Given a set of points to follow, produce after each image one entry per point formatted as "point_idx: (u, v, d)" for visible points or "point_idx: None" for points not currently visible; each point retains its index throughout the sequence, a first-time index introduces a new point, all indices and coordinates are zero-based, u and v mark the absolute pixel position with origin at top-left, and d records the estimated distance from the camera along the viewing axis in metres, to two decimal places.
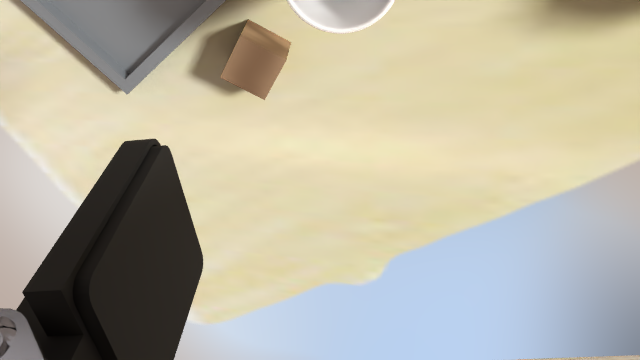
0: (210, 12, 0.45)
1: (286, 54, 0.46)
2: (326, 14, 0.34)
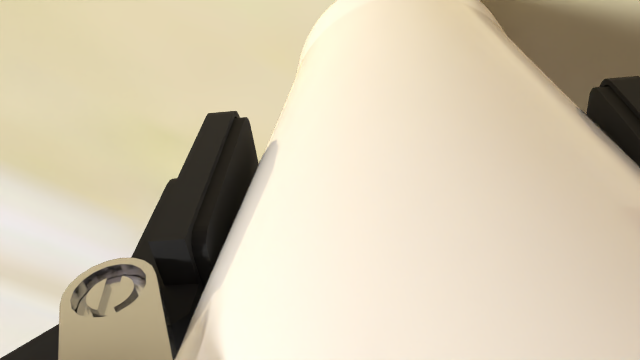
0: None
1: None
2: None
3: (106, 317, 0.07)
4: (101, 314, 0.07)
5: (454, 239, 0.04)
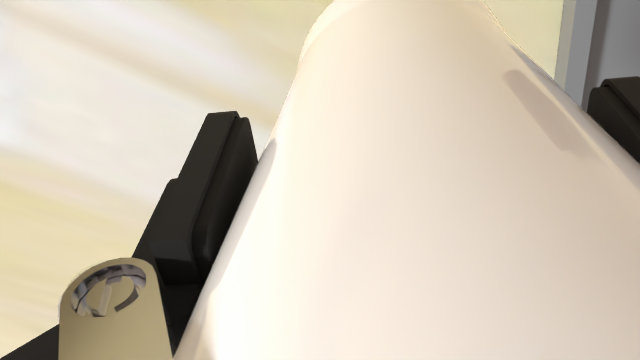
0: None
1: None
2: None
3: (106, 317, 0.07)
4: (101, 314, 0.07)
5: (452, 231, 0.04)
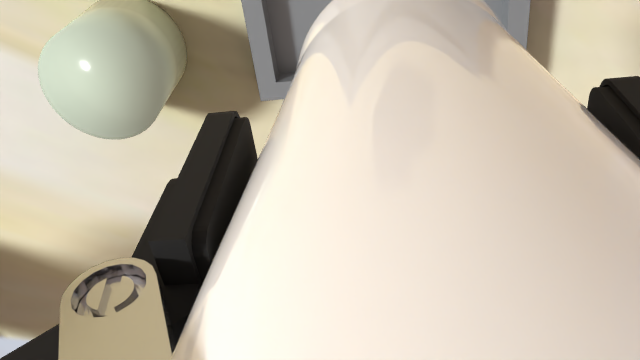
0: None
1: None
2: None
3: (106, 317, 0.07)
4: (101, 314, 0.07)
5: (452, 229, 0.04)
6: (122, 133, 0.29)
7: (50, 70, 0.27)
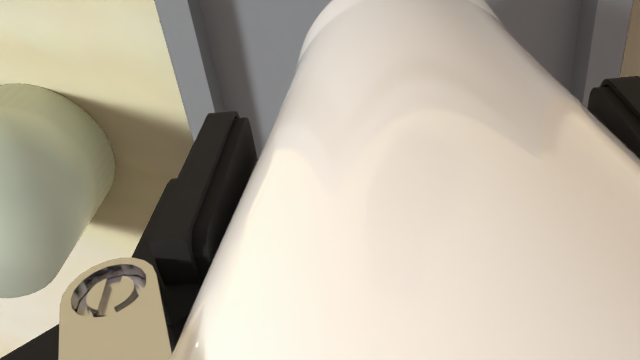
0: None
1: None
2: None
3: (106, 317, 0.07)
4: (101, 314, 0.07)
5: (453, 229, 0.04)
6: (11, 291, 0.20)
7: None
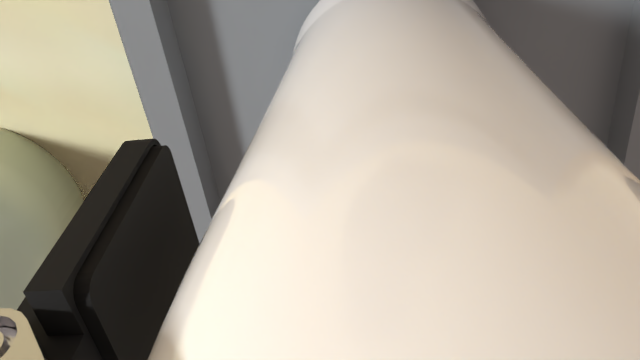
0: None
1: None
2: None
3: None
4: None
5: (411, 181, 0.05)
6: None
7: None
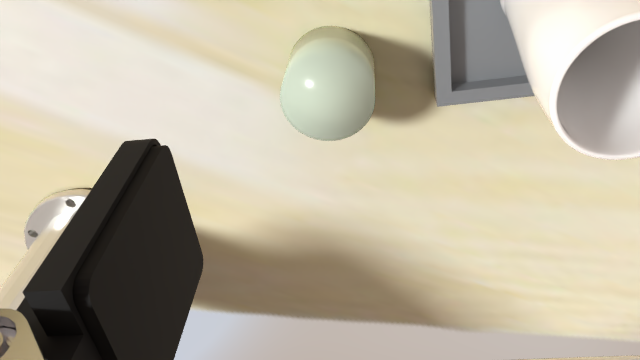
0: None
1: None
2: None
3: None
4: None
5: None
6: (337, 135, 0.37)
7: (290, 89, 0.35)
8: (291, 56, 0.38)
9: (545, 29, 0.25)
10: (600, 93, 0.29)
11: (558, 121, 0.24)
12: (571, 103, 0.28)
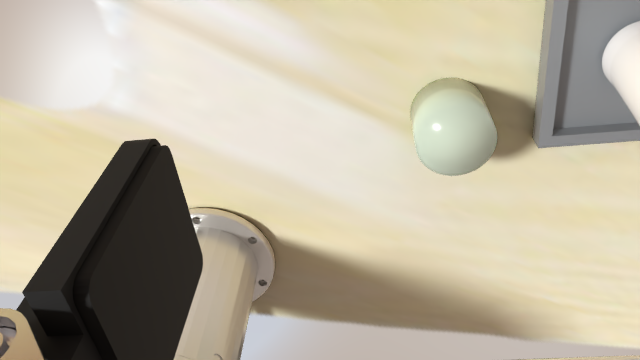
0: None
1: None
2: None
3: None
4: None
5: None
6: (458, 171, 0.44)
7: (426, 132, 0.42)
8: (420, 103, 0.44)
9: None
10: None
11: None
12: None
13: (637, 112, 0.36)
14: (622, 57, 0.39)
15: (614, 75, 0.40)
